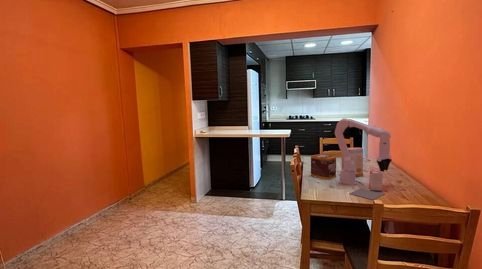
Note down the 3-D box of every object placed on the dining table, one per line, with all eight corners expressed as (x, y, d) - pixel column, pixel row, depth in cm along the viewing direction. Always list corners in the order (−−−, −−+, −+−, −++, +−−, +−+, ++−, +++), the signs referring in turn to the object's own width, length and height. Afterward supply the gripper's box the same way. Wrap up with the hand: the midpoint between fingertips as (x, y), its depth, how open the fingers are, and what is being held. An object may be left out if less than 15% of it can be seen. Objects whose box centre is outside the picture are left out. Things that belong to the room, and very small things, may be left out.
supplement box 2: (382, 191, 152) (383, 172, 151) (371, 191, 153) (372, 172, 153) (378, 188, 158) (379, 170, 157) (368, 188, 159) (369, 170, 158)
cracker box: (360, 174, 192) (360, 147, 190) (363, 176, 186) (363, 148, 184) (341, 174, 193) (341, 147, 191) (343, 176, 187) (343, 148, 185)
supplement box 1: (328, 180, 181) (328, 158, 179) (310, 175, 193) (310, 155, 192) (336, 177, 187) (336, 156, 185) (319, 173, 199) (319, 153, 198)
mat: (349, 194, 151) (349, 193, 151) (361, 188, 159) (361, 188, 159) (372, 200, 140) (372, 199, 140) (384, 194, 148) (384, 193, 148)
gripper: (385, 151, 152) (385, 173, 154) (396, 148, 161) (395, 169, 162) (373, 150, 158) (373, 171, 159) (384, 147, 166) (384, 167, 168)
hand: (383, 170), depth 161 cm, fingers open, 4 cm apart
